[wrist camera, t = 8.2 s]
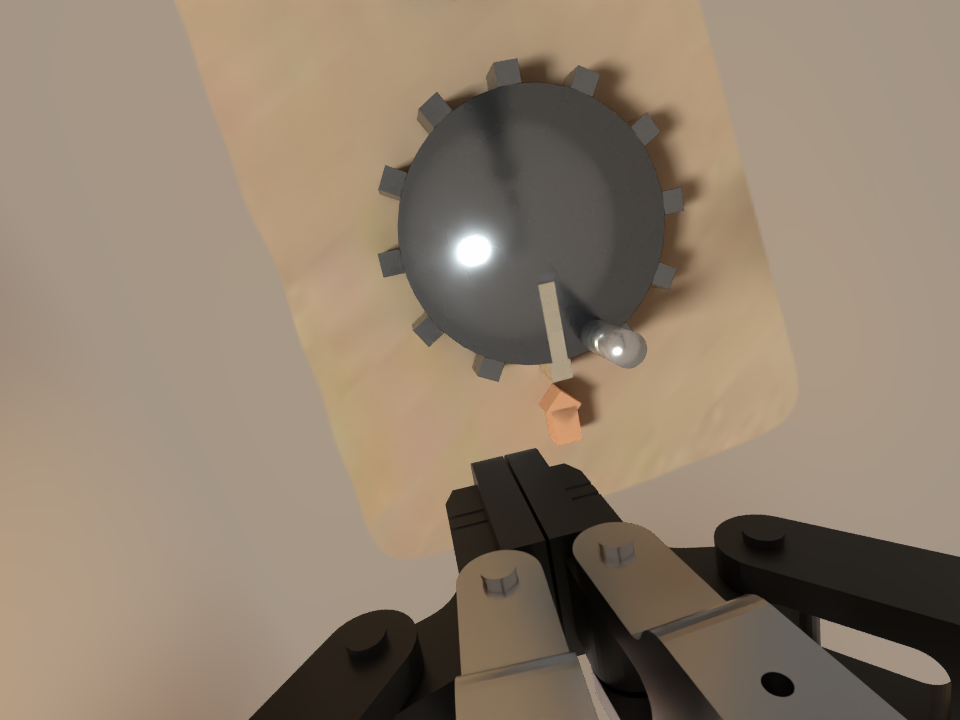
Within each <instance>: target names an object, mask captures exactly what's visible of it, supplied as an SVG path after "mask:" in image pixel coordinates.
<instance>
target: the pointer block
mask: <svg viewBox="0 0 960 720" xmlns="http://www.w3.org/2000/svg"><path fill="white" fill-rule="evenodd" d="M539 405H540V407H541V408H542V409H543V410H544V411H545V412H546V417H547V423H548V428H549V433H550V437H551V438H552V439H553V441H554V442H555V443H556V444H557V445H558V446H560V445H564V444H567V443H571V442H575V441H579V440H583V439H582V434H581V428H580V422H579V416H578V411H577V410H578V409H579V407H580V406H581V403H580V402H579V401H578V400H577V399H575V398H574V397H573V396H572V395H570V394H568V393H567V392H565V391H564V390H562V389H560V388H559V387H557V386H556V385H554V384H552V386H551V387H550V389H549V390H548V392H547V393H546V395H545V396H544V398H543V399H542V401H541V402H540V404H539Z"/></svg>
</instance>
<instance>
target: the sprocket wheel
mask: <svg viewBox="0 0 960 720" xmlns="http://www.w3.org/2000/svg"><path fill="white" fill-rule="evenodd" d="M599 76H600V74H598V73H596V72H593V71H591V70H589V69H586V68H584V67H582V66H579V65H578V66H577V67H576V68H575V69H574V70H573V71H572V72H571V73H570V74H569V75H568V76H567V77H566V78H565V79H564V82H563V85H562V86H560V85H554V84H548V83H522V82H521V76H520V70H519V65H518V59H517V58H516V59H511V60H505V61H500V62H494V63H493V64H492V66H491V68H490V70H489V72H488V74H487V76H486V80H487V85H488V90H489V91H487V92H485V93H483V94H480V95H478V96H476V97H474V98H472V99H470V100H469V101H467V102H465V103H464V104H462V105H460V106H459V107H457V108H456V109H455V110H454V111H453V112H452V110H451V108H450V107H449V106H448V105H447V103H446V102H445V101H444V100H443V99H442V97H441V96H440V95H439V94H438V92H436V93H435V94H434V95H433V96H432V97H431V98H430V99H429V100H428V101H427V102H426V103H425V104H424V105H422V106H421V107H420V108H419V110H418V116H417V120H418V122H419V123H420V124H421V125H422V126H423V128H424V129H425V130H426V131H427V132H428V134H429V136H428V137H427V139H426V140H425V142H424V143H423V144H422V146H421V147H420V149H419V150H418V152H417V154H416V156H415V158H414V160H413V162H412V164H411V166H410V168H409V171H408V174H407V173H406V172H403V171H400V170H397V169H395V168H392V167H389V166H386V165H385V168H384V171H383V175H382V179H381V182H380V186H379V189H378V190H379V193H380V194H381V195H384V196H387V197H390V198H393V199H396V200H399V201H400V204H399V216H398V241H399V248H400V251H399V249H397V250H392V251H388V252H383V253H379V254H378V257H379V261H380V265H381V269H382V273H383V277H389V276H393V275H398V274H402V273H406V276H407V279H408V281H409V283H410V285H411V287H412V289H413V292H414V294H415V296H416V297H417V299H418V301H419V302H420V304H421V305H422V307H423V309H424V310H425V313H424V314H423V315H422V316H421V317H420V318H419V319H417V320H416V321H415V322H414V323H413V324H412V328H413V331H414V332H415V333H416V334H417V335H418V336H419V337H420V338H421V339H422V340H423V341H424V342H425V343H426V344H427V345H428V347H430V346H431V345H432V344H433V343H434V342H435V341H436V340H437V339H438V338H439V337H440V336H441V335H442V334H443V333H444V332H445V333H446V334H447V335H448V336H449V337H451V338H452V339H453V340H455V341H456V342H458V343H459V344H461V345H462V346H463V347H465V348H467V349H469V350H471V351H473V352H475V353H476V356H475V359H474V363H473V366H472V368H473V370H474V371H475V373H476V374H477V376H479V377H483V378H486V379H490V380H493V381H497V382H499V379H500V375H501V372H502V369H503V366H504V362H505V363H510V364H521V365H538V364H541V369H542V374H544V375H545V376H546V377H547V378H548V379H549V380H551V381H552V382H557V381H561V380H565V379H569V378H573V372H572V366H571V360H570V358H572V357H575V356H577V355H579V354H582V353H584V352H586V351H588V350H590V351H592V352H594V353H596V354H598V355H599V356H601V357H603V358H605V359H607V360H609V361H611V362H613V363H614V364H616V365H618V366H620V367H622V368H633V367H636V366H637V365H639V364H640V363H641V362H642V361H643V360H644V358H645V356H646V353H647V345H646V341H645V340H644V338H643V337H642V336H641V335H640V334H638V333H635V332H633V330H632V329H631V328H630V327H629V325H628V324H627V323H626V321H627V320H628V319H629V318H630V316H631V315H632V314H633V313H634V311H635V310H636V309H637V307H638V306H639V305H640V303H641V301H642V300H643V298H644V296H645V294H646V293H647V291H648V289H649V287H656V288H662V289H669V288H670V286H671V283H672V280H673V278H674V275H675V272H676V269H677V268H674V267H671V266H668V265H666V264H663V263H660V262H659V260H660V257H661V252H662V246H663V240H664V226H665V216H664V215H666V214H670V213H675V212H679V211H684V206H683V198H682V189H681V188H677V189H672V190H667V191H662V192H661V186H660V183H659V180H658V176H657V173H656V170H655V167H654V165H653V163H652V161H651V159H650V157H649V154H648V152H647V151H646V149H645V147H644V146H645V145H646V144H648V143H649V142H650V141H651V140H652V139H653V138H654V137H655V136H656V135H657V134H658V133H659V132H660V131H659V129H658V128H657V126H656V125H655V123H654V122H653V121H652V119H651V118H650V116H649V115H648V114H647V113H645V114H643V115H641V116H639V117H637V118H636V119H634V120H632V121H630V122H628V123H626V122H625V121H624V120H623V119H622V118H620V117H619V116H618V115H617V114H616V113H615V112H614V111H613V110H611V109H610V108H608V107H607V106H606V105H604V104H603V103H601V102H600V101H598V100H596V99H594V98H592V97H593V94H594V91H595V88H596V85H597V82H598V79H599ZM400 254H401V255H400ZM403 266H404V267H403ZM404 269H405V271H404ZM443 331H444V332H443Z"/></svg>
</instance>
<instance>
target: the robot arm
mask: <svg viewBox="0 0 960 720" xmlns="http://www.w3.org/2000/svg"><path fill="white" fill-rule="evenodd" d="M471 469H472V474H473V479H474V484H475V485H473V486H469V487H465V488H461V489H457V490H453V491H452V493H451V495H450V497H449V499H448V501H447V502H446V509H447V514H448V519H449V525H450V530H451V535H452V540H453V545H454V550H455V555H456V561H457V566H458V571H459V575H458V578H457V582H456V593H455V595H454V596H453V597H452V599H451V600H450V601H449V602H448V603H447V604H446V605H445V606H444V607H443V608H442V609H440V610H439V611H438V612H436V613H435V614H433V615H431V616H429V617H428V618H426V619H424V620H422V621H420V622H418V623H416V624H414V622H413V620H412V619H411V618H410V617H409V616H408V615H406V614H404V613H402V612H399V611H395V610H377V611H372V612H368V613H365V614H362V615H360V616H358V617H355V618H353V619H352V620H350V621H348V622H346V623H345V624H344V625H342V626H341V627H340V628H338V629H337V630H336V631H335V632H334V633H333V634H332V635H331V636H330V637H329V638H328V639H327V640H326V641H325V642H324V643H323V644H322V645H321V646H320V647H319V648H318V649H317V650H316V651H315V652H314V653H313V654H312V655H311V656H310V657H309V659H307V661H305V662H304V664H303V665H302V666H301V667H300V668H299V669H298V670H297V671H296V672H295V673H294V674H293V675H292V676H291V677H290V678H289V679H288V680H287V681H286V682H285V683H284V684H283V685H282V686H281V687H280V688H279V689H278V690H277V691H276V692H275V693H274V694H273V695H272V696H271V697H270V698H269V699H268V700H267V701H266V702H265V703H264V705H262V706H261V708H260V709H259V710H258V711H257V712H256V713H255V714H254V715H253V716H252V717H251V718H250V719H249V720H599V719H598V716H597V713H596V710H595V707H594V704H593V702H592V698H591V695H590V693H589V689H588V687H587V684H586V681H585V678H584V675H583V672H582V669H581V666H580V663H579V660H578V658H577V656H579V655H583V654H586V656H587V658H588V660H589V662H590V664H591V669H592V675H593V682H594V688H595V692H596V695H597V697H598V699H599V701H600V703H601V705H602V706H603V708H604V710H605V712H606V714H607V716H608V718H609V719H610V720H960V557H957V556H953V555H948V554H944V553H939V552H934V551H930V550H925V549H921V548H916V547H912V546H907V545H903V544H898V543H894V542H889V541H884V540H880V539H875V538H871V537H866V536H861V535H857V534H852V533H847V532H843V531H839V530H834V529H829V528H825V527H820V526H816V525H811V524H807V523H802V522H797V521H793V520H788V519H783V518H779V517H774V516H767V515H743V516H737V517H734V518H731V519H728V520H726V521H724V522H723V523H721V524H720V525H719V526H718V527H717V528H716V530H715V533H714V543H715V547H699V548H670V547H668V546H666V545H665V544H664V543H663V542H662V541H661V540H660V539H659V538H658V537H657V536H656V535H655V534H654V533H652V532H651V531H650V530H648V529H646V528H644V527H642V526H639V525H635V524H632V523H626V522H623V521H622V520H621V519H620V518H619V516H618V515H617V514H616V513H615V512H614V510H613V509H612V508H611V507H610V506H609V504H608V503H607V502H606V501H605V499H604V498H603V497H602V496H601V494H599V493H598V491H597V490H596V488H595V487H594V486H593V485H591V482H590V481H589V480H588V479H587V477H586V476H585V475H584V474H583V472H582V471H580V470H578V469H576V468H574V467H571V466H569V465H567V464H565V463H564V464H560V465H556V466H551V467H549V466H548V464H547V463H546V461H545V460H544V458H543V457H542V455H541V454H540V453H539V451H538V450H537V449H536V448H534V449H530V450H525V451H521V452H517V453H513V454H509V455H505V456H504V458H503V456H501V457H496V458H492V459H488V460H484V461H480V462H475V463H471ZM820 618H822V619H825V620H828V621H831V622H834V623H837V624H841V625H844V626H846V627H850V628H853V629H856V630H859V631H862V632H865V633H868V634H872V635H874V636H878V637H881V638H884V639H887V640H890V641H893V642H896V643H899V644H902V645H906V646H909V647H912V648H915V649H917V650H920V651H922V652H924V653H926V654H927V655H929V656H931V657H932V658H933V659H935V660H936V661H937V662H938V663H939V664H940V665H941V666H942V667H943V668H944V669H945V670H946V672H947V673H948V675H949V677H950V680H951V682H949V683H947V684H944V685H931V684H926V683H922V682H919V681H917V680H914V679H911V678H908V677H905V676H902V675H900V674H897V673H894V672H891V671H888V670H886V669H882V668H880V667H877V666H874V665H871V664H869V663H866V662H863V661H860V660H857V659H854V658H852V657H848V656H846V655H843V654H840V653H837V652H834V651H832V650H829V649H826V648H823V647H821V642H820Z"/></svg>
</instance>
